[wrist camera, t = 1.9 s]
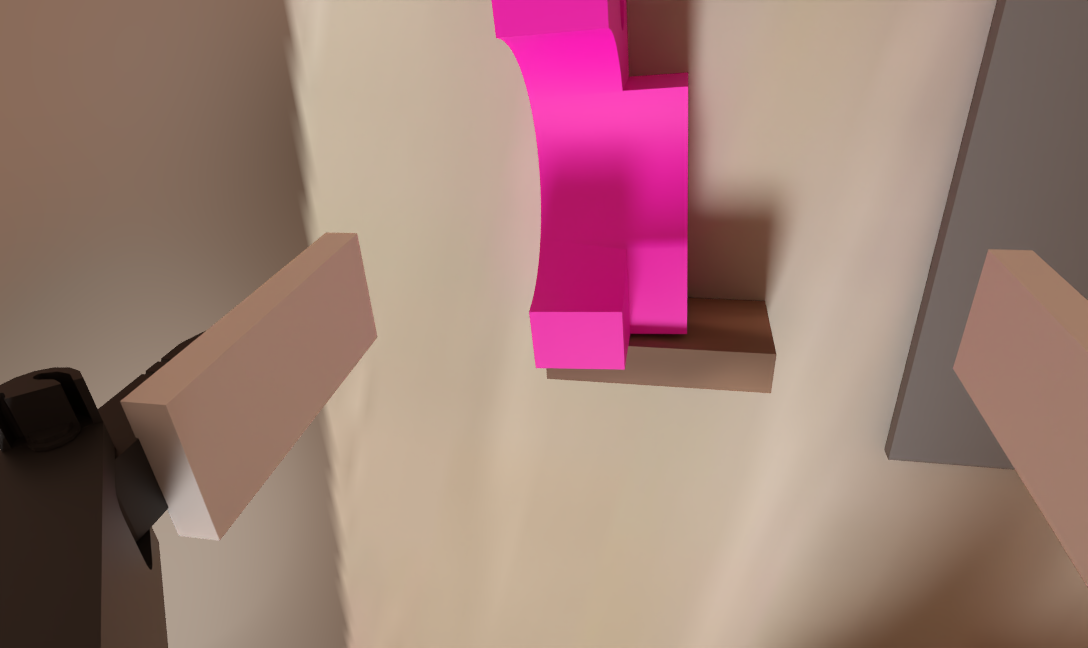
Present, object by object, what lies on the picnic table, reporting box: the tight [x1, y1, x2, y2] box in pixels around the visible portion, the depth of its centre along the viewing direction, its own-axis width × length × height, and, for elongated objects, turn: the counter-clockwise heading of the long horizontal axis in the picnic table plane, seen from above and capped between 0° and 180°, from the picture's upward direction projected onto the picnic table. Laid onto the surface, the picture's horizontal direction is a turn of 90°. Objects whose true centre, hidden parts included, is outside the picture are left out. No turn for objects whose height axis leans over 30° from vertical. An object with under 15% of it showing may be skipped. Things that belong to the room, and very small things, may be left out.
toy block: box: [492, 0, 688, 370], centre depth 28 cm, size 15×6×8 cm, turn 6°
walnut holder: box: [547, 298, 776, 393], centre depth 28 cm, size 21×10×5 cm, turn 3°
